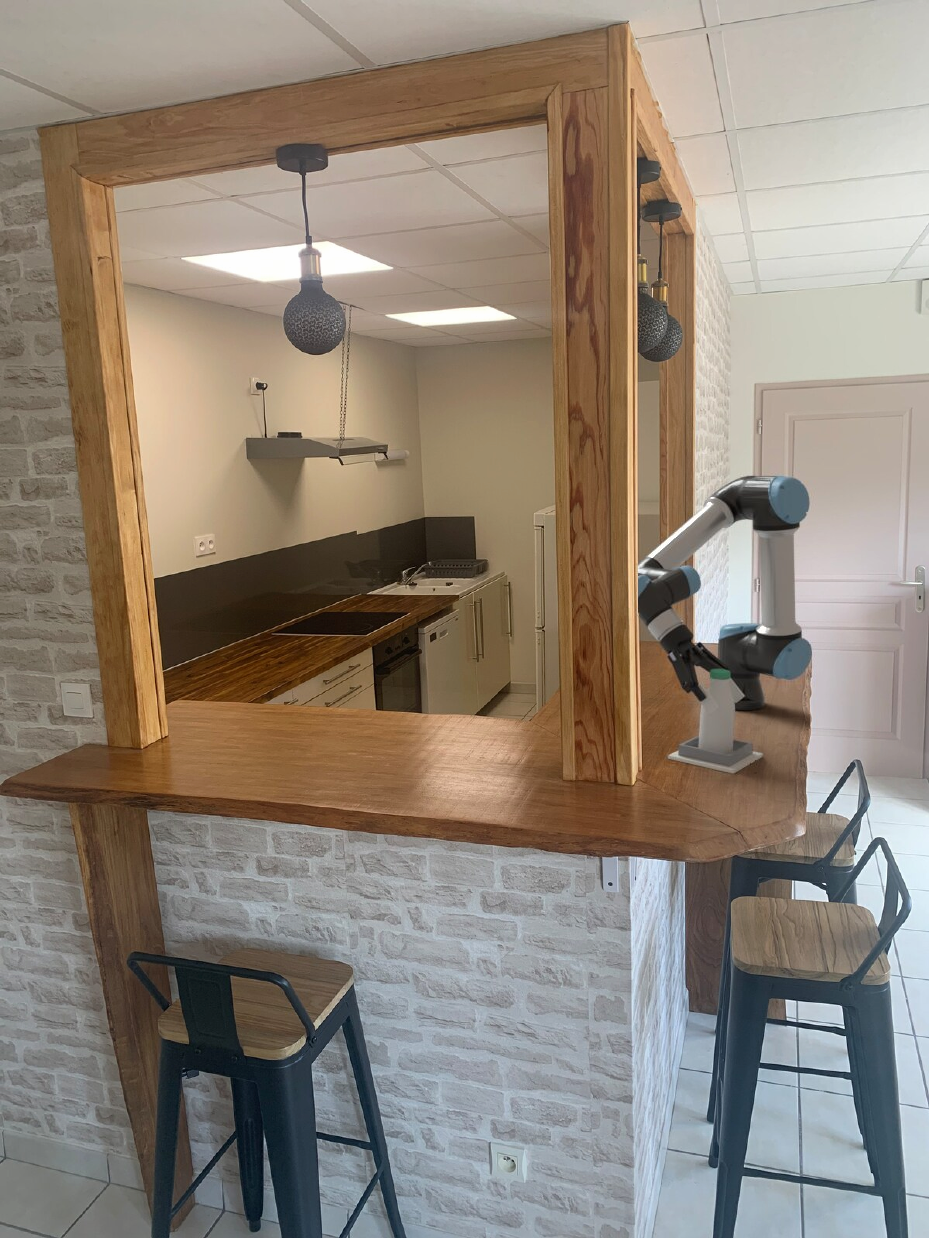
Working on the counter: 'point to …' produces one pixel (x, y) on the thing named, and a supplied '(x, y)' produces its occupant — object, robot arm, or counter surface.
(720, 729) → the milk bottle
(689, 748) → the tray
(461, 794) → the counter surface
